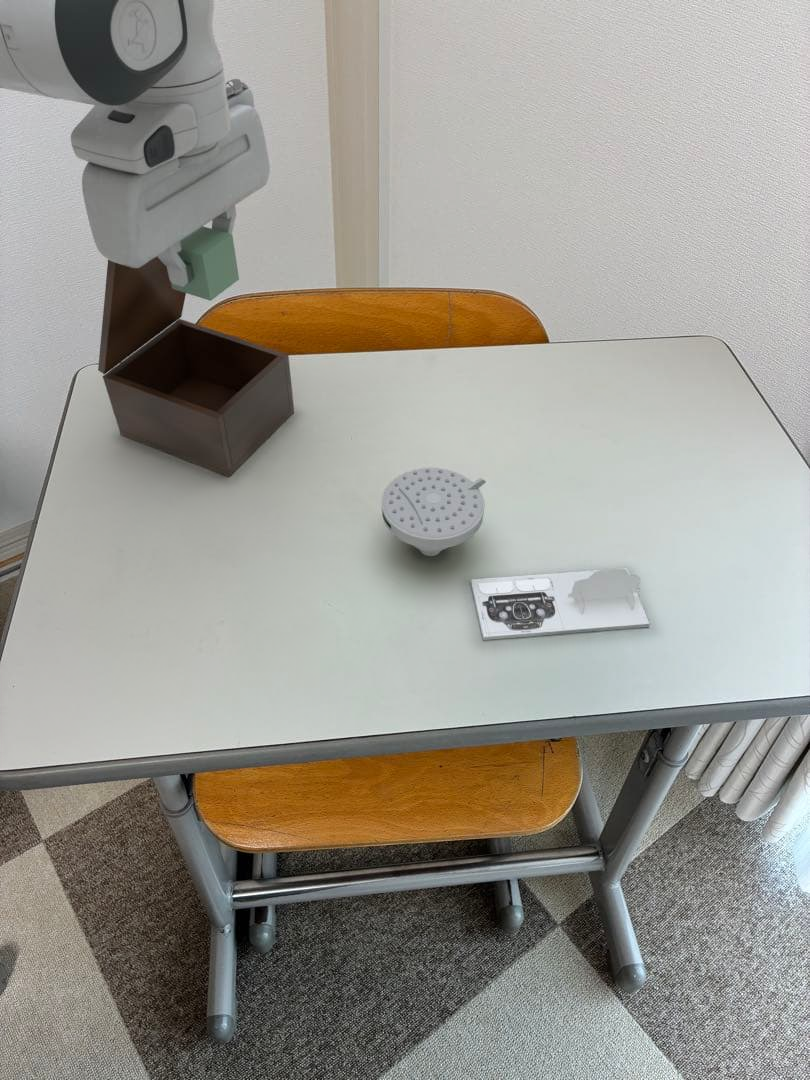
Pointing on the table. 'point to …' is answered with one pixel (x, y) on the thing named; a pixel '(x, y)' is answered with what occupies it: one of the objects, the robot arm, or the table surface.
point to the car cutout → (558, 603)
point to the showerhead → (433, 508)
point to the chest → (201, 395)
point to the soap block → (209, 262)
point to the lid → (136, 309)
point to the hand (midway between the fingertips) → (202, 268)
